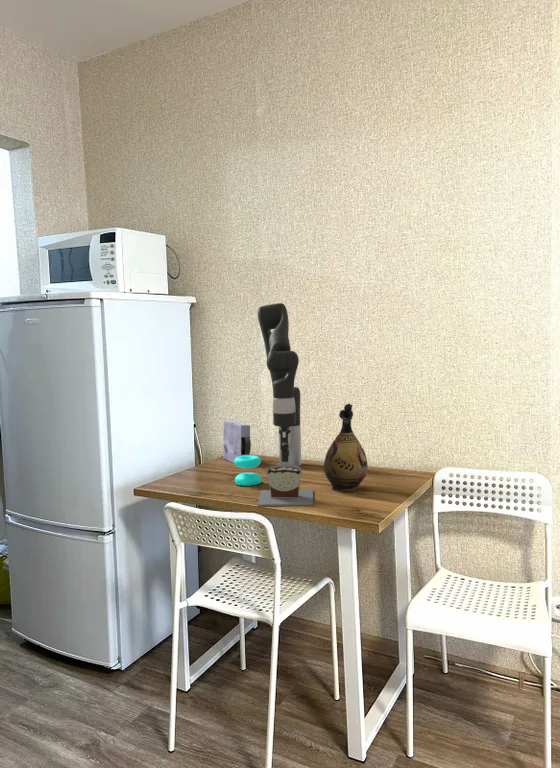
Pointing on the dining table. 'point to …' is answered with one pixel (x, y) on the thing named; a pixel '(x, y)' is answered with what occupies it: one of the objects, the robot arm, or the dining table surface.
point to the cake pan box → (235, 440)
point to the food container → (284, 481)
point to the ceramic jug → (345, 457)
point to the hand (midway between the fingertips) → (285, 458)
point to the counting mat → (286, 499)
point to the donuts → (247, 478)
